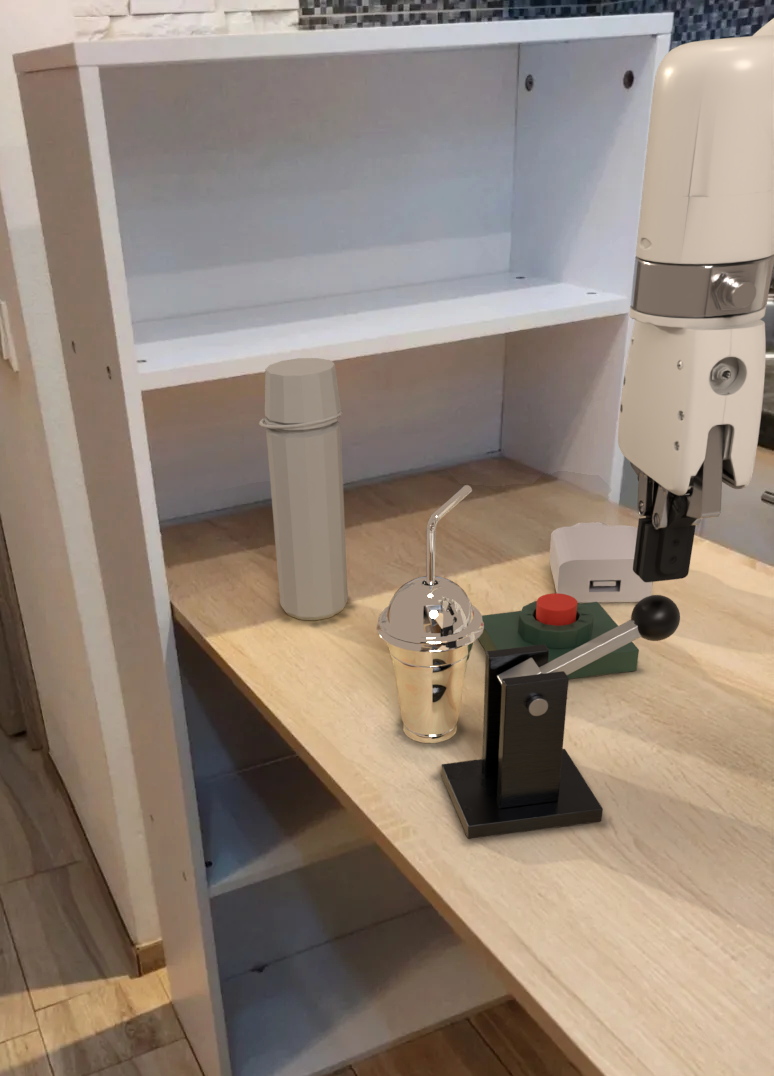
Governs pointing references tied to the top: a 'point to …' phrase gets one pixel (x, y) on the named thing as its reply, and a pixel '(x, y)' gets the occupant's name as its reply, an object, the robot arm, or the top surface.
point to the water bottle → (307, 486)
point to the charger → (596, 563)
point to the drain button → (556, 609)
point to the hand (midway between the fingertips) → (659, 575)
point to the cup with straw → (430, 643)
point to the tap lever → (611, 638)
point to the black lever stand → (521, 756)
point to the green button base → (559, 637)
